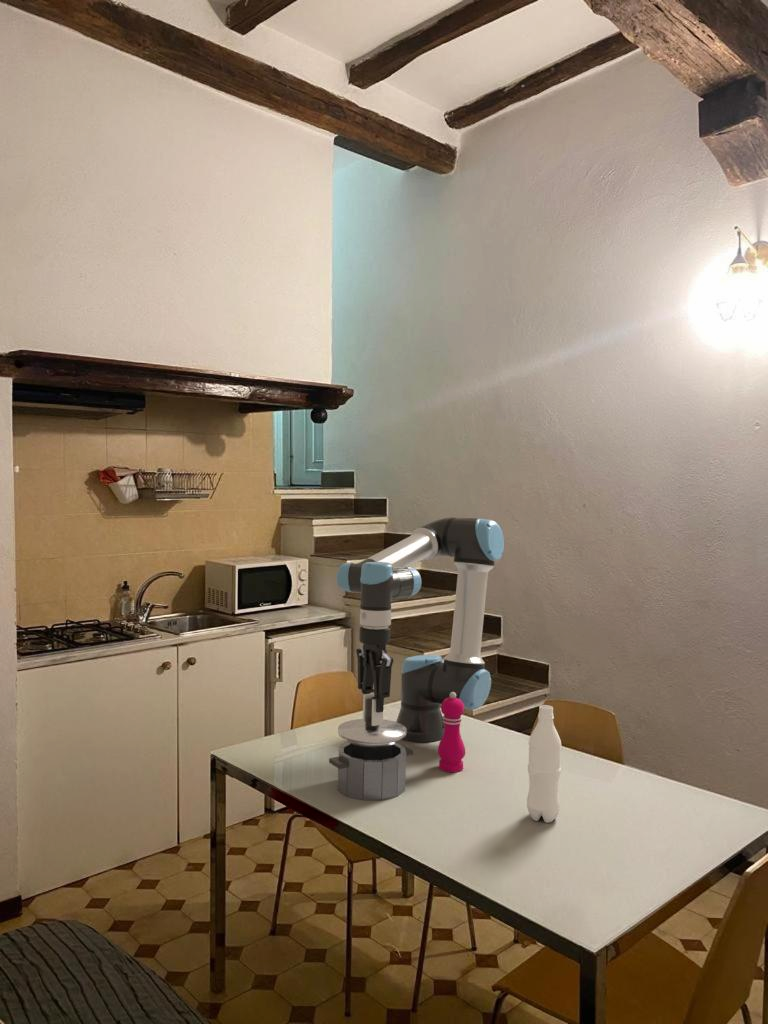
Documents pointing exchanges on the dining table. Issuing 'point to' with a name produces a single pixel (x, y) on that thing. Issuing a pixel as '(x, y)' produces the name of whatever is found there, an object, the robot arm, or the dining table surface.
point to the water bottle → (544, 767)
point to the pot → (371, 771)
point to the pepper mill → (451, 735)
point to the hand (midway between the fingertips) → (372, 722)
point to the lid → (371, 731)
